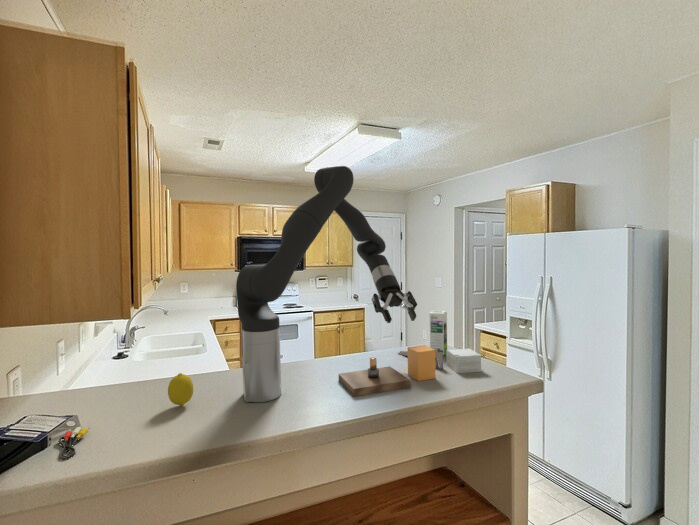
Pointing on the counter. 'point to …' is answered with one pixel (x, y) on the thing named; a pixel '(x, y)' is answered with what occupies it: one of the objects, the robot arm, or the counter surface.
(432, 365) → the orange rectangular block
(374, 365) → the grey and tan knob
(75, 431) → the composite cable
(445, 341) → the syrup box
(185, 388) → the lemon
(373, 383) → the board
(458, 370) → the small box
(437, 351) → the caliper
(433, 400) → the counter surface
